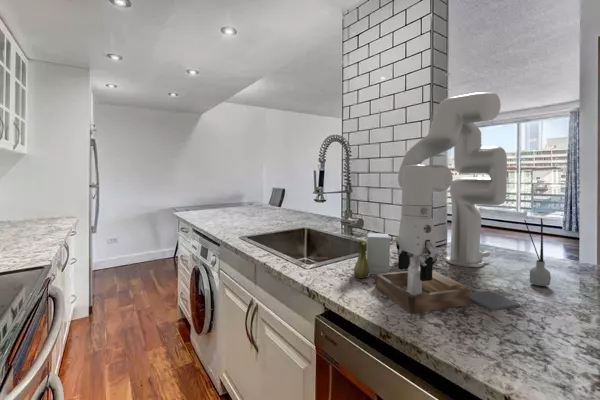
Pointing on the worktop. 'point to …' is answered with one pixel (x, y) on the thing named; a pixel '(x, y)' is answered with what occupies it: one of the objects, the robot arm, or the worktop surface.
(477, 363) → the worktop surface
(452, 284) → the wooden block
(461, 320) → the worktop surface
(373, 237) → the supplement box
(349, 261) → the worktop surface
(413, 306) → the walnut rack
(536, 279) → the reed diffuser
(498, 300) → the slate mat
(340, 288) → the worktop surface
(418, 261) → the eye dropper bottle
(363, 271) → the fennel bulb
